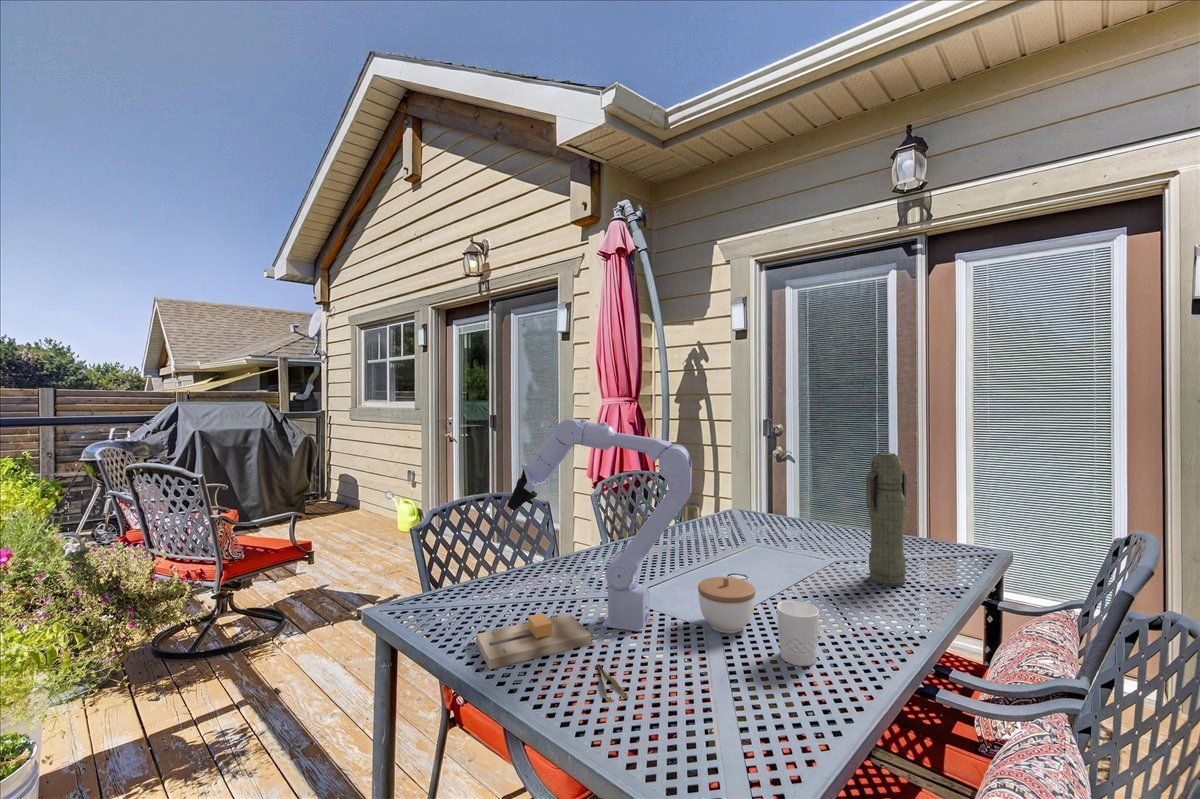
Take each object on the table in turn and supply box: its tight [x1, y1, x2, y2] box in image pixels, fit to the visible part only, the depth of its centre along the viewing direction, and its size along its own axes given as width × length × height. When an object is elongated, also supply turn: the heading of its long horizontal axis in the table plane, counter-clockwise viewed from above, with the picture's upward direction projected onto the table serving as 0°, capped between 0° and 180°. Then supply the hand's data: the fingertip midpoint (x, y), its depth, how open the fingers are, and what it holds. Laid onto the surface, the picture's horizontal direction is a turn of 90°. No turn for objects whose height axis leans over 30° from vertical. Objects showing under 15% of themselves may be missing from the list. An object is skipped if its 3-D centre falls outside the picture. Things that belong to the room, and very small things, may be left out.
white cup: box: [776, 600, 820, 667], centre depth 105 cm, size 8×8×10 cm
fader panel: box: [475, 613, 592, 670], centre depth 113 cm, size 22×12×2 cm, turn 115°
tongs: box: [596, 663, 628, 703], centre depth 98 cm, size 4×13×2 cm, turn 21°
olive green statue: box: [865, 452, 907, 587], centre depth 145 cm, size 9×12×35 cm
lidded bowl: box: [697, 576, 756, 634], centre depth 120 cm, size 13×13×11 cm
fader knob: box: [527, 612, 552, 638], centre depth 114 cm, size 4×6×2 cm, turn 25°
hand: (513, 501), depth 128 cm, fingers open, 7 cm apart
